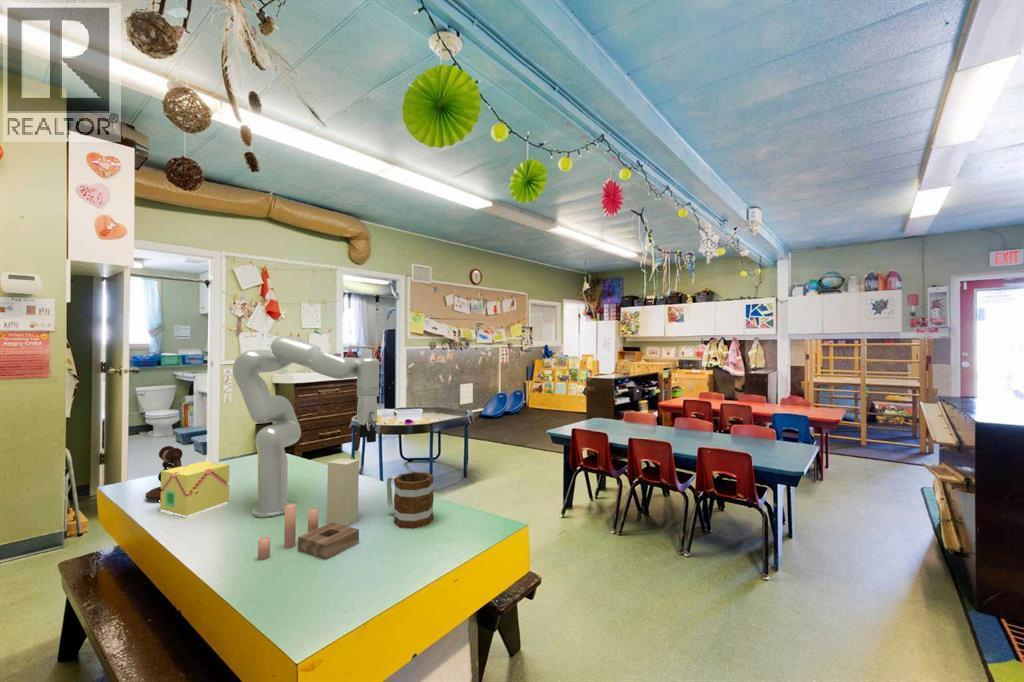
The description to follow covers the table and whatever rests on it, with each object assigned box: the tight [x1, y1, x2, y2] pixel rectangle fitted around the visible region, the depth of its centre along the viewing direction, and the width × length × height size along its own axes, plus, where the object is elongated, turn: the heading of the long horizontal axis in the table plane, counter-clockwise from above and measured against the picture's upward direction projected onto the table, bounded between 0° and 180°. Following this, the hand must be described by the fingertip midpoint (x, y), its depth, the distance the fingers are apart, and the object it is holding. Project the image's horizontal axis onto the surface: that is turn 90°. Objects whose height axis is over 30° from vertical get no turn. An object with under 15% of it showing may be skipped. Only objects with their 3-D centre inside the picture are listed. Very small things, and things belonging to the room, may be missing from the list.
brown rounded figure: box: [145, 445, 183, 501], centre depth 170 cm, size 15×15×20 cm
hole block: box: [297, 522, 360, 561], centre depth 127 cm, size 12×12×4 cm
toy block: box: [159, 460, 230, 516], centre depth 158 cm, size 15×15×15 cm
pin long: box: [283, 503, 297, 549], centre depth 127 cm, size 3×3×12 cm
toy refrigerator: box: [326, 457, 360, 527], centre depth 145 cm, size 8×7×21 cm
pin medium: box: [307, 508, 319, 533], centre depth 135 cm, size 3×3×8 cm
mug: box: [386, 471, 435, 530], centre depth 148 cm, size 20×14×15 cm
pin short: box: [257, 536, 271, 561], centre depth 120 cm, size 3×3×5 cm
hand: (367, 439), depth 152 cm, fingers open, 9 cm apart
